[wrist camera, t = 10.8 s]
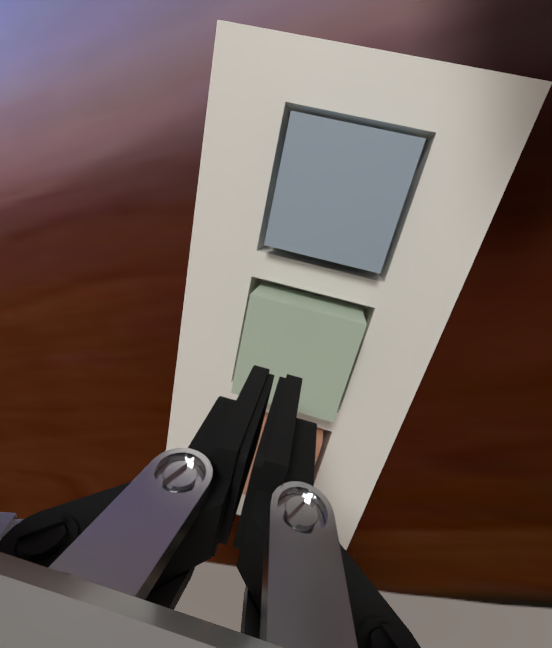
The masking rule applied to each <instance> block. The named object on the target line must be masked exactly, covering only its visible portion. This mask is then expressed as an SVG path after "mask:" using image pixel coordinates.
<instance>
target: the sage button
mask: <svg viewBox="0 0 552 648" xmlns="http://www.w3.org/2000/svg"><path fill="white" fill-rule="evenodd" d="M366 326H367V323H366V320H365V317H364V313H363V310H362V307H360V306H356V305H352V304H348V303H345V302H341V301H337V300H333V299H329V298H325V297H321V296H317V295H314V294H310V293H306V292H302V291H298V290H294V289H290V288H286V287H283V286H279V285H275V284H271V283H267V282H263V283H261V284H260V285H259V286H258V287H257V288H256V289H255V290H254V291H253V292H252V293H251V294H250V298H249V303H248V308H247V313H246V319H245V324H244V329H243V334H242V339H241V344H240V349H239V354H238V359H237V365H236V370H235V375H234V380H233V385H232V390H231V393H234V394H237V395H239V394H240V392H241V390H242V388H243V386H244V384H245V382H246V380H247V378H248V376H249V374H250V372H251V370H252V368H253V366H254V365H256V366H260V367H264V368H267V369H270V371H269V374H273V375H275V376H274V380H273V384H272V388H271V392H270V396H269V400H268V404H271V403H272V400H273V397H274V393H275V390H276V387H277V383H278V380H279V377H284V378H286V376H287V374H289V375H293V376H296V377H300V378H303V380H302V386H301V392H300V398H299V405H298V411H297V412H299V413H302V414H305V415H309V416H312V417H316V418H319V419H323V420H326V421H329V422H333V421H334V419H335V416H336V413H337V410H338V407H339V404H340V401H341V398H342V395H343V392H344V390H345V387H346V384H347V381H348V378H349V375H350V372H351V369H352V366H353V363H354V361H355V358H356V355H357V352H358V349H359V346H360V343H361V340H362V337H363V334H364V332H365V329H366Z"/></svg>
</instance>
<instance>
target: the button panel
mask: <svg viewBox="0 0 552 648" xmlns="http://www.w3.org/2000/svg"><path fill="white" fill-rule="evenodd" d="M551 84H552V82H551V81H545V80H540V79H535V78H529V77H524V76H518V75H513V74H508V73H502V72H497V71H492V70H486V69H481V68H475V67H470V66H465V65H459V64H454V63H448V62H443V61H438V60H432V59H427V58H421V57H416V56H411V55H405V54H400V53H395V52H389V51H384V50H378V49H373V48H368V47H362V46H357V45H351V44H346V43H341V42H335V41H330V40H324V39H319V38H314V37H308V36H303V35H298V34H292V33H287V32H281V31H276V30H271V29H265V28H260V27H254V26H249V25H244V24H238V23H233V22H227V21H222V20H217V28H216V37H215V45H214V54H213V62H212V70H211V79H210V87H209V96H208V104H207V112H206V121H205V129H204V138H203V146H202V154H201V163H200V171H199V180H198V188H197V196H196V205H195V213H194V222H193V230H192V238H191V247H190V255H189V264H188V272H187V280H186V289H185V297H184V306H183V314H182V322H181V331H180V339H179V348H178V356H177V364H176V373H175V381H174V390H173V398H172V406H171V415H170V423H169V432H168V440H167V448H166V451H168V450H170V449H175V448H188V446H189V445H190V443H191V441H192V440H193V438H194V437H195V435H196V433H197V432H198V430H199V428H200V427H201V425H202V423H203V422H204V420H205V418H206V417H207V415H208V413H209V412H210V410H211V408H212V407H213V405H214V404H215V402H216V400H217V399H218V397H219V396H222V397H226V398H229V399H233V400H237V398H238V396H239V395H237V394H234V393H231V390H232V385H233V380H234V375H235V370H236V365H237V359H238V354H239V349H240V344H241V339H242V334H243V329H244V324H245V319H246V313H247V308H248V303H249V298H250V294H251V293H252V292H253V291H254V290H255V289H256V288H257V287H258V286H259V285H260V284H261V283H263V282H267V283H271V284H275V285H279V286H283V287H286V288H290V289H294V290H298V291H302V292H306V293H310V294H314V295H317V296H321V297H325V298H329V299H333V300H337V301H341V302H345V303H348V304H352V305H356V306H360V307H362V310H363V313H364V317H365V320H366V323H367V326H366V329H365V332H364V334H363V337H362V340H361V343H360V346H359V349H358V352H357V355H356V358H355V361H354V363H353V366H352V369H351V372H350V375H349V378H348V381H347V384H346V387H345V390H344V392H343V395H342V398H341V401H340V404H339V407H338V410H337V413H336V416H335V419H334V421H333V422H329V421H326V420H323V419H319V418H316V417H312V416H309V415H305V414H302V413H299V412H297V417H296V418H300V419H303V420H307V421H310V422H314V423H316V424H317V427H318V428H321V429H323V441H322V446H321V449H320V452H319V455H318V458H317V461H316V464H315V470H314V487H315V488H317V489H318V490H319V491H321V492H322V493H323V494H324V495H325V496H326V498H327V499H328V501H329V502H330V504H331V506H332V509H333V512H334V515H335V521H336V527H337V532H338V538H339V543H340V544H341V545H342V547H343V548H344V549H345V550H347V547H348V545H349V543H350V541H351V538H352V536H353V534H354V532H355V529H356V527H357V525H358V522H359V520H360V518H361V516H362V513H363V511H364V509H365V507H366V504H367V502H368V500H369V497H370V495H371V493H372V491H373V488H374V486H375V484H376V482H377V479H378V477H379V475H380V472H381V470H382V468H383V466H384V463H385V461H386V459H387V457H388V454H389V452H390V450H391V448H392V445H393V443H394V441H395V438H396V436H397V434H398V432H399V429H400V427H401V425H402V423H403V420H404V418H405V416H406V413H407V411H408V409H409V407H410V404H411V402H412V400H413V398H414V395H415V393H416V391H417V388H418V386H419V384H420V382H421V379H422V377H423V375H424V373H425V370H426V368H427V366H428V364H429V361H430V359H431V357H432V354H433V352H434V350H435V348H436V345H437V343H438V341H439V339H440V336H441V334H442V332H443V329H444V327H445V325H446V323H447V320H448V318H449V316H450V314H451V311H452V309H453V307H454V304H455V302H456V300H457V298H458V295H459V293H460V291H461V289H462V286H463V284H464V282H465V280H466V277H467V275H468V273H469V270H470V268H471V266H472V264H473V261H474V259H475V257H476V255H477V252H478V250H479V248H480V245H481V243H482V241H483V239H484V236H485V234H486V232H487V230H488V227H489V225H490V223H491V221H492V218H493V216H494V214H495V211H496V209H497V207H498V205H499V202H500V200H501V198H502V196H503V193H504V191H505V189H506V186H507V184H508V182H509V180H510V177H511V175H512V173H513V171H514V168H515V166H516V164H517V161H518V159H519V157H520V155H521V152H522V150H523V148H524V146H525V143H526V141H527V139H528V137H529V134H530V132H531V130H532V127H533V125H534V123H535V121H536V118H537V116H538V114H539V112H540V109H541V107H542V105H543V102H544V100H545V98H546V96H547V93H548V91H549V89H550V87H551ZM291 111H296V112H300V113H305V114H310V115H315V116H320V117H324V118H329V119H334V120H339V121H344V122H349V123H353V124H358V125H363V126H368V127H373V128H377V129H382V130H387V131H392V132H397V133H402V134H406V135H411V136H416V137H421V138H426V140H425V143H424V146H423V149H422V152H421V155H420V158H419V161H418V164H417V167H416V169H415V172H414V175H413V178H412V181H411V184H410V187H409V190H408V193H407V196H406V199H405V202H404V205H403V208H402V211H401V214H400V217H399V220H398V222H397V225H396V228H395V231H394V234H393V237H392V240H391V243H390V246H389V249H388V252H387V255H386V258H385V261H384V264H383V267H382V270H381V272H380V274H379V273H375V272H371V271H367V270H363V269H359V268H355V267H351V266H347V265H343V264H338V263H334V262H330V261H326V260H322V259H318V258H314V257H310V256H306V255H302V254H298V253H294V252H290V251H286V250H282V249H278V248H274V247H270V246H266V245H264V242H265V237H266V232H267V227H268V222H269V217H270V212H271V207H272V202H273V197H274V192H275V187H276V182H277V177H278V172H279V168H280V163H281V158H282V153H283V148H284V143H285V138H286V133H287V128H288V123H289V118H290V113H291ZM270 406H271V404H268V405H267V409H266V412H267V413H269V410H270ZM244 499H245V495H244V494H242V496H241V500H240V503H239V506H238V509H237V512H236V514H237V515H241V511H242V507H243V503H244Z"/></svg>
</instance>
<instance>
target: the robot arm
mask: <svg viewBox="0 0 552 648" xmlns="http://www.w3.org/2000/svg"><path fill="white" fill-rule="evenodd" d="M269 371H270V369H267V368H264V367H260V366H256V365H254V366H253V368H252V370H251V372H250V374H249V376H248V378H247V380H246V382H245V384H244V386H243V388H242V390H241V392H240V394H239V396H238V398H237V400H233V399H229V398H226V397H222V396H219V397H218V399H217V400H216V402H215V404H214V405H213V407H212V408H211V410H210V412H209V413H208V415H207V417H206V418H205V420H204V422H203V423H202V425H201V427H200V428H199V430H198V432H197V433H196V435H195V437H194V438H193V440H192V441H191V443H190V445H189V446H188V448H175V449H170V450H168V451H165V452H163V453H161V454H160V455H158V456H157V457H156V458H154V459H153V460H152V461H151V462H150V463H149V464H148V465H147V466H146V467H145V469H144V470H143V471H142V472H141V473H140V474H139V475H138V476H137V477H136V478H135V479H134V480H133V481H132V482H129V483H126V484H123V485H120V486H117V487H114V488H111V489H108V490H105V491H101V492H98V493H95V494H92V495H89V496H86V497H83V498H80V499H77V500H74V501H71V502H68V503H65V504H62V505H59V506H56V507H53V508H49V509H46V510H43V511H40V512H38V513H36V514H34V515H31V516H29V517H27V518H25V519H24V520H23V519H17V514H16V513H4V512H0V648H421V647H420V646H419V644H418V643H417V641H416V640H415V638H414V637H413V635H412V633H411V632H410V631H409V629H408V628H407V627H406V626H405V624H404V623H403V622H402V621H401V619H400V618H399V617H398V616H397V614H396V613H395V612H394V611H393V609H392V608H391V607H390V606H389V604H388V603H387V602H386V601H385V599H384V598H383V597H382V595H381V594H380V593H379V592H378V590H377V589H376V588H375V587H374V585H373V584H372V583H371V582H370V580H369V579H368V578H367V577H366V575H365V574H364V573H363V572H362V570H361V569H360V568H359V567H358V565H357V564H356V563H355V562H354V560H353V559H352V558H351V557H350V555H349V554H348V553H347V552H346V550H345V549H344V548H343V547H342V545H341V544H340V543H339V538H338V532H337V527H336V521H335V515H334V512H333V509H332V506H331V504H330V502H329V501H328V499H327V498H326V496H325V495H324V494H323V493H322V492H321V491H319V490H318V489H317V488H315V487H314V470H315V453H316V435H317V424H316V423H314V422H310V421H307V420H303V419H300V418H296V417H297V411H298V405H299V398H300V392H301V386H302V380H303V378H300V377H296V376H293V375H289V374H287V376H286V378H284V377H279V380H278V383H277V387H276V390H275V393H274V397H273V400H272V403H271V406H270V410H269V413H268V416H267V420H266V423H265V426H264V429H263V433H262V436H261V439H260V443H259V446H258V449H257V453H256V456H255V460H254V463H253V467H252V471H251V475H250V479H249V483H248V487H247V491H246V495H245V499H244V503H243V507H242V511H241V515H240V519H239V523H238V527H237V531H236V536H235V540H234V544H233V547H235V548H238V549H241V551H240V554H239V558H238V562H237V568H238V570H239V572H240V574H241V576H242V578H243V580H244V582H245V584H246V588H245V592H244V600H243V611H242V622H241V633H240V632H237V631H234V630H231V629H228V628H225V627H222V626H219V625H216V624H213V623H210V622H207V621H204V620H202V619H198V618H196V617H193V616H190V615H187V614H184V613H181V612H178V611H175V610H174V608H175V606H176V605H177V603H178V601H179V599H180V597H181V595H182V594H183V592H184V590H185V588H186V586H187V584H188V582H189V580H190V579H191V576H192V574H193V571H194V569H195V566H197V565H199V564H200V563H202V562H204V561H206V560H208V559H210V558H211V556H215V553H216V550H217V547H218V544H219V543H222V544H225V545H226V544H227V541H228V538H229V535H230V532H231V529H232V525H233V522H234V519H235V516H236V512H237V509H238V506H239V503H240V500H241V496H242V493H243V490H244V487H245V483H246V480H247V477H248V474H249V470H250V467H251V464H252V461H253V458H254V454H255V451H256V448H257V444H258V441H259V437H260V433H261V429H262V425H263V421H264V417H265V413H266V409H267V405H268V400H269V396H270V392H271V388H272V384H273V380H274V376H275V375H273V374H269Z"/></svg>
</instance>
